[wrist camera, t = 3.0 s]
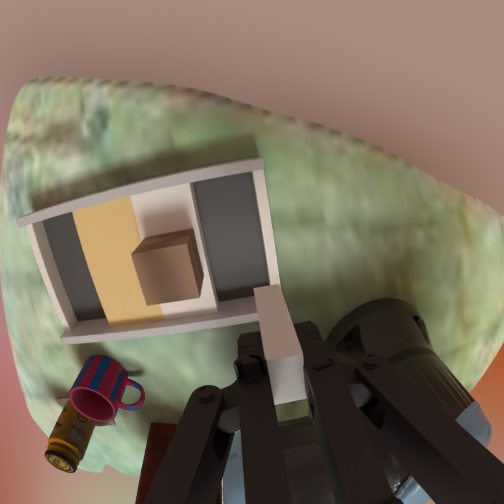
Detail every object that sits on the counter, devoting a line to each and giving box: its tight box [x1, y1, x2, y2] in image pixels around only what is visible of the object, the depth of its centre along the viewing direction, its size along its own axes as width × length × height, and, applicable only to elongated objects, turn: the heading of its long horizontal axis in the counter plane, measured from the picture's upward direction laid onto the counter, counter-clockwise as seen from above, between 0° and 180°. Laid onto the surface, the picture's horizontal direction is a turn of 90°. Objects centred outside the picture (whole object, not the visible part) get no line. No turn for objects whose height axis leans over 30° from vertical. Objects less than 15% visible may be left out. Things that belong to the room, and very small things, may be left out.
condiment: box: [45, 398, 116, 473], centre depth 35 cm, size 7×8×12 cm
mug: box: [69, 355, 145, 422], centre depth 35 cm, size 7×10×7 cm
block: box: [131, 228, 204, 306], centre depth 28 cm, size 5×5×5 cm
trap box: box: [16, 157, 281, 344], centre depth 31 cm, size 27×16×4 cm, turn 99°
